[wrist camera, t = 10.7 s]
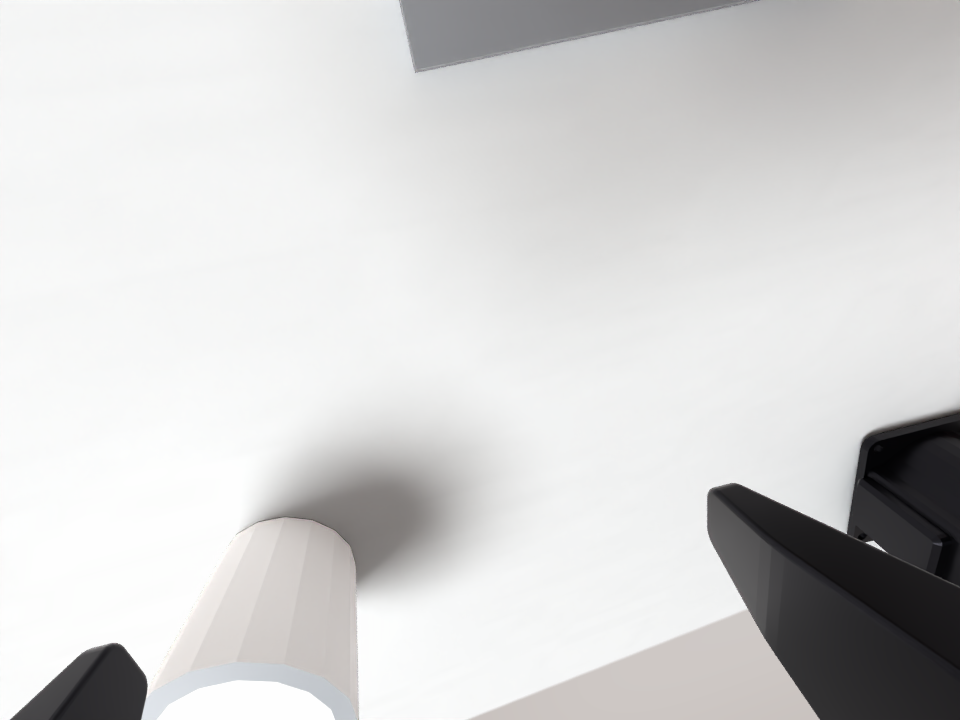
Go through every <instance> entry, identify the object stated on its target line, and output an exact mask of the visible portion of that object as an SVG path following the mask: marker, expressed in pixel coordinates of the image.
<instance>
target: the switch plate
mask: <svg viewBox="0 0 960 720" xmlns="http://www.w3.org/2000/svg"><path fill="white" fill-rule="evenodd" d="M399 1H400V6H401V10H402V15H403V19H404V24H405V29H406V33H407V38H408V42H409V47H410V52H411V56H412V61H413V65H414V70H415V73H417V72H421V71H426V70H431V69H436V68H440V67H445V66H450V65H455V64H459V63H464V62H469V61H474V60H478V59H483V58H488V57H493V56H497V55H502V54H507V53H512V52H516V51H521V50H526V49H531V48H535V47H540V46H545V45H550V44H554V43H559V42H564V41H569V40H573V39H578V38H583V37H588V36H592V35H597V34H602V33H607V32H611V31H616V30H621V29H626V28H630V27H635V26H640V25H645V24H649V23H654V22H659V21H664V20H668V19H673V18H678V17H683V16H687V15H692V14H697V13H702V12H706V11H711V10H716V9H721V8H725V7H730V6H735V5H740V4H744V3H749V2H754V1H759V0H399Z"/></svg>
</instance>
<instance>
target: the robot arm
mask: <svg viewBox="0 0 960 720" xmlns="http://www.w3.org/2000/svg"><path fill="white" fill-rule="evenodd" d="M707 529H708V534H709V537H710V540H711V542H712V544H713V546H714V548H715V550H716V552H717V554H718V555H719V557H720V559H721V561H722V563H723V564H724V566H725V568H726V570H727V572H728V574H729V575H730V577H731V579H732V581H733V583H734V584H735V586H736V588H737V590H738V592H739V593H740V595H741V597H742V599H743V601H744V603H745V604H746V606H747V608H748V610H749V612H750V613H751V615H752V617H753V619H754V621H755V622H756V624H757V626H758V627H759V629H760V631H761V633H762V635H763V636H764V638H765V639H766V641H767V643H768V644H769V646H770V647H771V649H772V650H773V651H774V653H775V655H776V656H777V657H778V659H779V661H780V662H781V663H782V665H783V666H784V668H785V669H786V671H787V672H788V674H789V675H790V677H791V678H792V679H793V681H794V682H795V684H796V685H797V687H798V688H799V690H800V691H801V693H802V694H803V695H804V697H805V699H806V700H807V701H808V703H809V704H810V706H811V707H812V709H813V710H814V712H815V713H816V714H817V716H818V717H819V719H820V720H960V414H956V415H952V416H948V417H944V418H940V419H936V420H932V421H929V422H925V423H921V424H917V425H913V426H909V427H905V428H901V429H897V430H893V431H889V432H886V433H882V434H878V435H874V436H871V437H869V438H867V439H866V440H865V441H864V442H863V443H862V446H861V450H860V456H859V462H858V469H857V475H856V481H855V487H854V493H853V500H852V506H851V512H850V518H849V524H848V531H847V534H845V533H843V532H841V531H839V530H837V529H834V528H832V527H830V526H828V525H826V524H824V523H822V522H819V521H817V520H815V519H813V518H811V517H809V516H807V515H804V514H802V513H800V512H798V511H796V510H794V509H791V508H789V507H787V506H785V505H783V504H781V503H779V502H776V501H774V500H772V499H770V498H768V497H766V496H764V495H761V494H759V493H757V492H755V491H753V490H751V489H749V488H746V487H744V486H742V485H740V484H736V483H730V484H726V485H722V486H718V487H714V488H712V489H710V490H709V492H708V496H707ZM873 540H874V541H875V542H876V543H877V544H878V545H879V546H880V547H882V548H883V549H884V550H885V551H886V552H887V553H886V552H884V551H882V550H880V549H877V548H875V547H873V546H871V545H869V544H867V543H865V542H869V541H873ZM147 687H148V685H147V679H146V676H145V674H144V673H143V671H142V670H141V669H140V667H139V666H138V665H137V663H136V662H135V661H134V660H133V658H132V657H131V656H130V654H129V653H128V652H127V650H126V649H125V648H124V647H123V646H122V645H120V644H118V643H110V644H107V645H103V646H99V647H95V648H91V649H89V650H86V651H85V652H83V653H82V654H81V655H79V656H78V657H77V658H76V659H75V660H74V661H73V662H72V663H71V664H70V665H69V666H67V667H66V668H65V669H64V670H63V671H62V672H61V673H60V674H59V675H58V676H57V677H56V678H55V679H53V680H52V681H51V682H50V683H49V684H48V685H47V686H46V687H45V688H44V689H43V690H42V691H41V692H39V693H38V694H37V695H36V696H35V697H34V698H33V699H32V700H31V701H30V702H29V703H28V704H27V705H25V706H24V707H23V708H22V709H21V710H20V711H19V712H18V713H17V714H16V715H15V716H14V717H13V718H11V719H10V720H141V719H142V715H143V710H144V706H145V701H146V697H147Z"/></svg>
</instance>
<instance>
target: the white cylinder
mask: <svg viewBox="0 0 960 720" xmlns="http://www.w3.org/2000/svg"><path fill="white" fill-rule="evenodd" d="M141 720H359V702H358V653H357V603H356V564H355V560H354V557H353V554H352V550H351V547H350V545H349V544H348V543H347V542H346V541H345V540H344V539H343V538H342V537H341V536H340V535H339V534H338V533H337V532H336V531H335V530H333V529H331V528H329V527H326V526H324V525H322V524H320V523H318V522H315V521H313V520H307V519H298V518H289V517H282V518H277V519H272V520H266V521H261V522H257V523H256V524H254V525H252V526H250V527H249V528H247V529H245V530H243V531H242V532H240V533H238V534H236V536H235V537H234V538H233V540H232V541H231V542H230V544H229V545H228V547H227V548H226V549H225V551H224V552H223V554H222V556H221V557H220V559H219V561H218V563H217V565H216V566H215V568H214V570H213V572H212V574H211V575H210V577H209V579H208V581H207V583H206V584H205V586H204V588H203V590H202V592H201V593H200V595H199V597H198V599H197V601H196V602H195V604H194V606H193V608H192V610H191V611H190V613H189V615H188V617H187V619H186V621H185V622H184V624H183V626H182V628H181V630H180V631H179V633H178V635H177V637H176V639H175V640H174V642H173V644H172V646H171V648H170V649H169V651H168V653H167V655H166V657H165V658H164V660H163V662H162V664H161V666H160V667H159V669H158V671H157V673H156V675H155V676H154V678H153V680H152V682H151V684H150V685H149V687H148V689H147V697H146V701H145V706H144V710H143V715H142V719H141Z"/></svg>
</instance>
